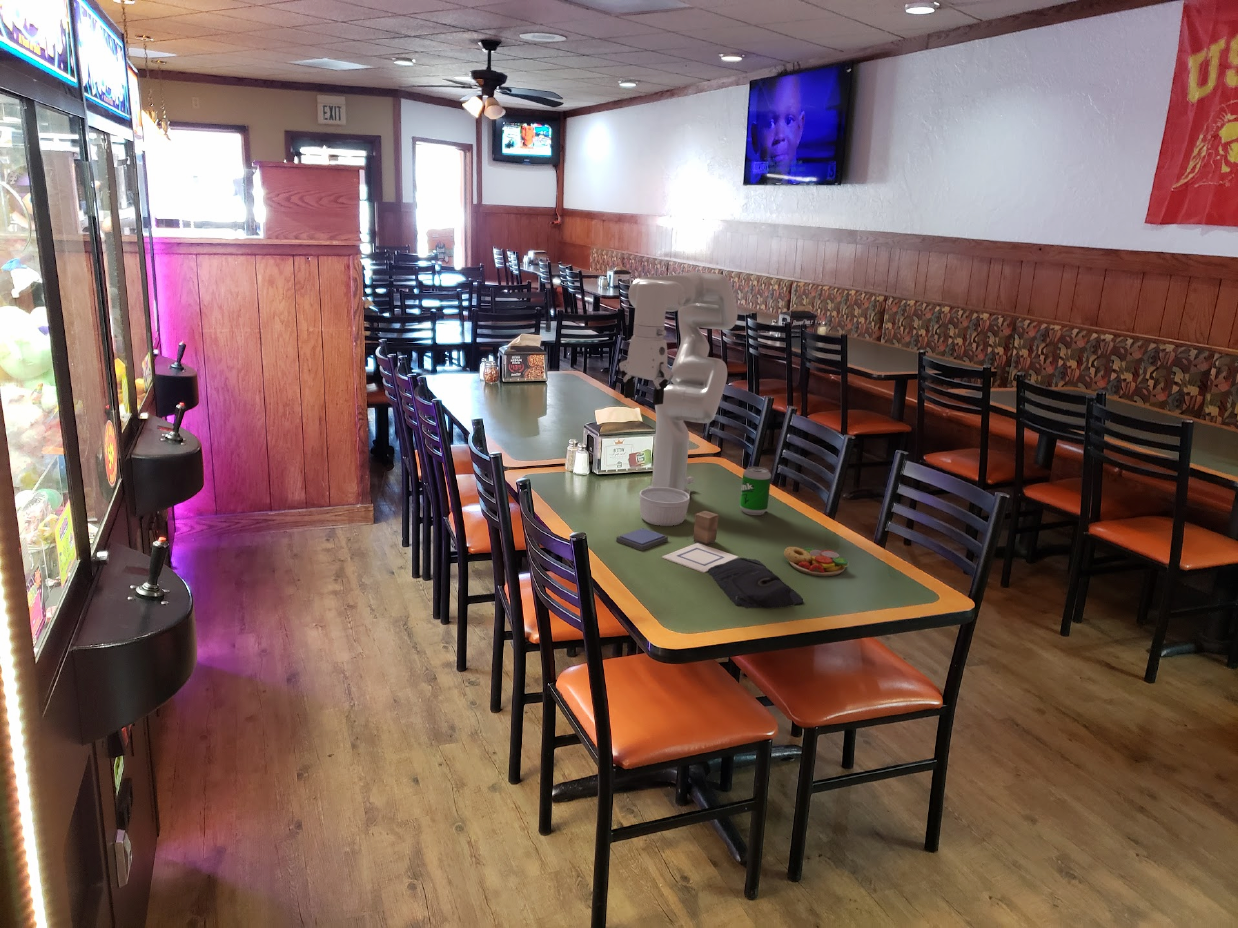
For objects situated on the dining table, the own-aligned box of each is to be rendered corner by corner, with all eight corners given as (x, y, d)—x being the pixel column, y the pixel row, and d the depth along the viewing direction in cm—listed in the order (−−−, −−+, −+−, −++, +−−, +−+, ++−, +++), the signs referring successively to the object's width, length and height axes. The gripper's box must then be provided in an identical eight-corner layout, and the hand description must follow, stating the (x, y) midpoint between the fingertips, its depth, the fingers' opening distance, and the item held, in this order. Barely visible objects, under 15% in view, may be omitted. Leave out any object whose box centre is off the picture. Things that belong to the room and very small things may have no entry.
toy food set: (776, 558, 210) (778, 545, 209) (824, 554, 215) (826, 542, 214) (807, 580, 198) (809, 567, 197) (856, 575, 203) (858, 562, 202)
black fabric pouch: (765, 568, 204) (767, 548, 203) (807, 608, 184) (810, 587, 183) (702, 570, 200) (704, 551, 199) (738, 612, 180) (741, 590, 179)
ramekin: (684, 530, 225) (686, 504, 223) (633, 524, 227) (635, 498, 225) (690, 515, 237) (692, 490, 235) (642, 509, 240) (644, 484, 238)
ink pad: (642, 532, 221) (642, 526, 221) (667, 540, 216) (668, 535, 216) (616, 541, 214) (616, 535, 214) (641, 550, 209) (642, 544, 209)
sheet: (697, 543, 216) (697, 542, 216) (738, 557, 208) (738, 556, 208) (661, 557, 205) (661, 556, 205) (703, 572, 198) (704, 571, 198)
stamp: (702, 537, 221) (705, 510, 219) (715, 541, 218) (718, 514, 216) (693, 540, 218) (695, 513, 216) (706, 545, 215) (708, 518, 213)
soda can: (766, 508, 247) (770, 467, 243) (767, 517, 239) (772, 474, 236) (738, 506, 247) (743, 464, 244) (739, 514, 240) (744, 472, 237)
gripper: (685, 336, 216) (679, 405, 220) (633, 328, 227) (628, 394, 231) (665, 337, 210) (659, 408, 214) (612, 328, 222) (608, 396, 226)
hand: (643, 400), depth 223 cm, fingers open, 9 cm apart
